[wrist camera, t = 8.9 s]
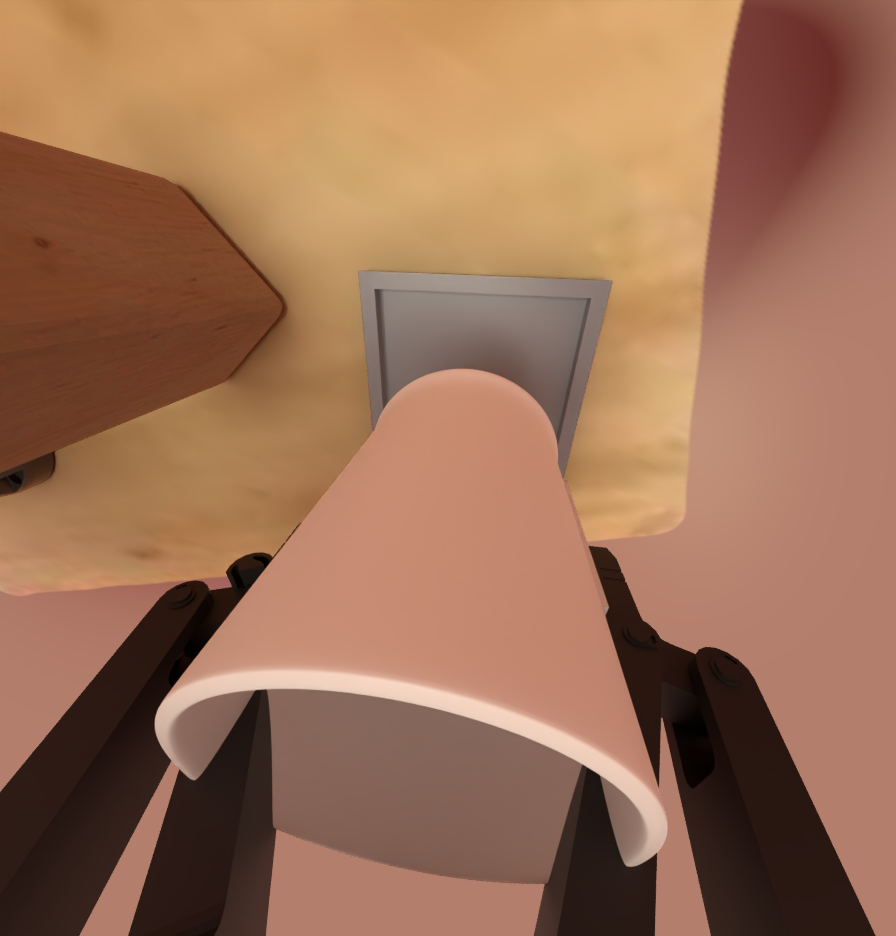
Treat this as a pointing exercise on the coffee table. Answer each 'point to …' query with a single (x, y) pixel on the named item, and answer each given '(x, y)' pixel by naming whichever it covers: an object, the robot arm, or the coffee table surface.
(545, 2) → the coffee table surface
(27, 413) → the wooden block
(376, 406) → the tray
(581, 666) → the mug
